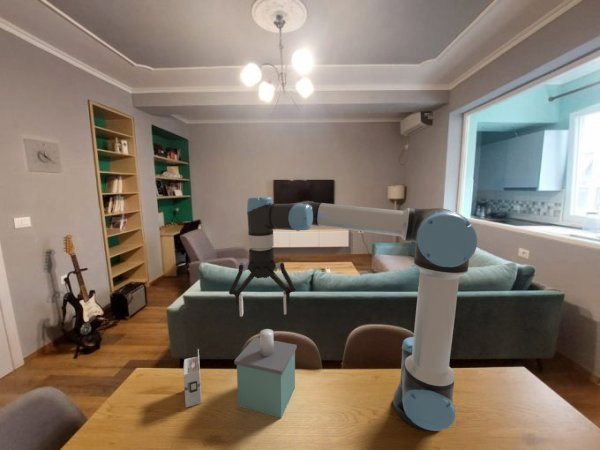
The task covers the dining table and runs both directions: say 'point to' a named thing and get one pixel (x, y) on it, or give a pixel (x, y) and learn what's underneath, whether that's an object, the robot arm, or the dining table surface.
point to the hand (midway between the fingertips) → (263, 313)
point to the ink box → (192, 381)
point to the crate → (266, 389)
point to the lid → (266, 354)
